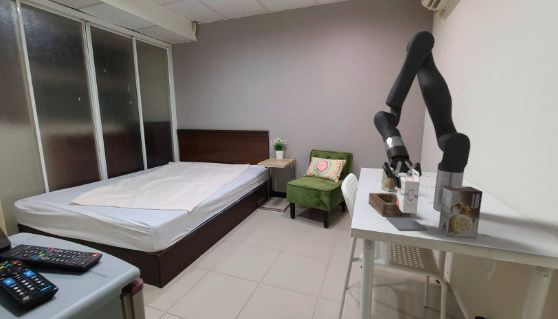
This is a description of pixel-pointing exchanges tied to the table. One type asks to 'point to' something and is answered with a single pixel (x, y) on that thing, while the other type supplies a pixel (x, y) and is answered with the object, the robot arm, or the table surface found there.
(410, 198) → the ink cartridge box
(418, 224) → the grey mat
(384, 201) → the walnut holder
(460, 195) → the coffee box
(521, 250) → the table surface
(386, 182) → the skincare box
